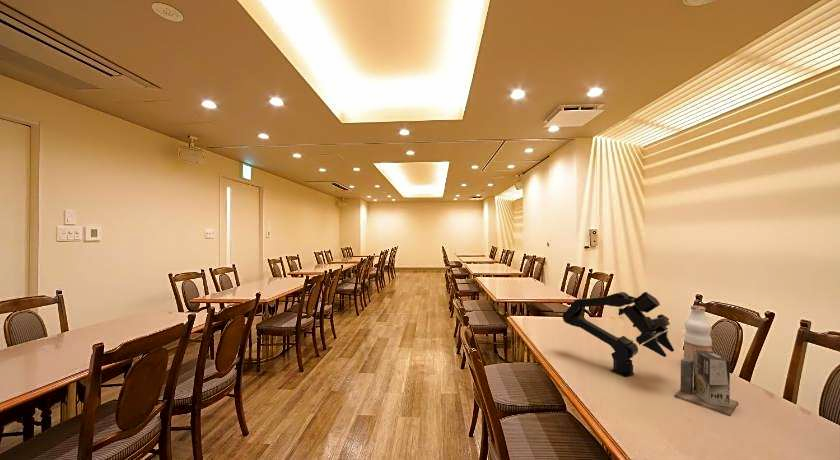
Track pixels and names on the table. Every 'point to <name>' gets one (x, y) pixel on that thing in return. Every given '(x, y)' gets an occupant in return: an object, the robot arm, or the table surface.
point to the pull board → (689, 396)
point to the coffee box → (712, 378)
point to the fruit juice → (697, 333)
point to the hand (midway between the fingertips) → (669, 353)
